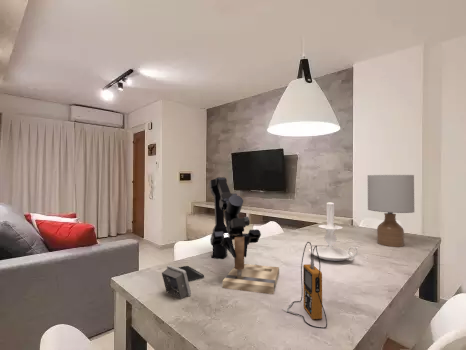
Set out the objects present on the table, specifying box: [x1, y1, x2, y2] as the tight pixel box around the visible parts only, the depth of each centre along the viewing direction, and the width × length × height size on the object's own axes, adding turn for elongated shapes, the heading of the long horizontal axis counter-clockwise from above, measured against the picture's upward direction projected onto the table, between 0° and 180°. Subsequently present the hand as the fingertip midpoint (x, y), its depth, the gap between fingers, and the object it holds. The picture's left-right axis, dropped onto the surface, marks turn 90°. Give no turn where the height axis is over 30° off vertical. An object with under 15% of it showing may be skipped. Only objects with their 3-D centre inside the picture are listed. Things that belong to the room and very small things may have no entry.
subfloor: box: [222, 263, 280, 295], centre depth 97 cm, size 18×20×2 cm
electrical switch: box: [161, 264, 192, 300], centre depth 84 cm, size 9×5×9 cm, turn 51°
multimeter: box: [281, 241, 328, 329], centre depth 73 cm, size 15×10×20 cm
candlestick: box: [308, 201, 359, 262], centre depth 123 cm, size 21×25×28 cm
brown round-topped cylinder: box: [233, 236, 245, 276], centre depth 93 cm, size 4×4×14 cm
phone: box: [177, 265, 205, 283], centre depth 103 cm, size 8×1×15 cm
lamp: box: [367, 174, 415, 248], centre depth 154 cm, size 24×24×42 cm
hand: (240, 257), depth 92 cm, fingers closed on brown round-topped cylinder, 4 cm apart
